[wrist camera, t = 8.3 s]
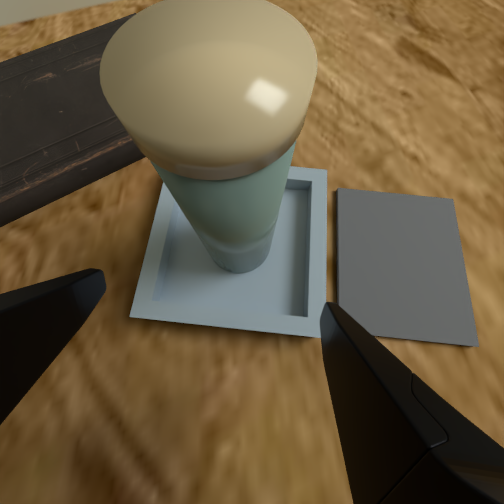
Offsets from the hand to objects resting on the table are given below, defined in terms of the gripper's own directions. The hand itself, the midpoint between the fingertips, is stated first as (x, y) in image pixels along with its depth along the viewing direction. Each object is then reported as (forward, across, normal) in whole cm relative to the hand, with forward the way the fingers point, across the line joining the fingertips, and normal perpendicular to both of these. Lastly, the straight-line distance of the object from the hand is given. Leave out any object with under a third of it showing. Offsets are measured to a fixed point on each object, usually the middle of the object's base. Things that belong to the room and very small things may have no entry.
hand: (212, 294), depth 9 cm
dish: (+10, 0, +2) cm, 10 cm away
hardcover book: (+17, +19, -5) cm, 26 cm away
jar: (+9, 0, +2) cm, 9 cm away
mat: (+10, -13, +2) cm, 16 cm away
